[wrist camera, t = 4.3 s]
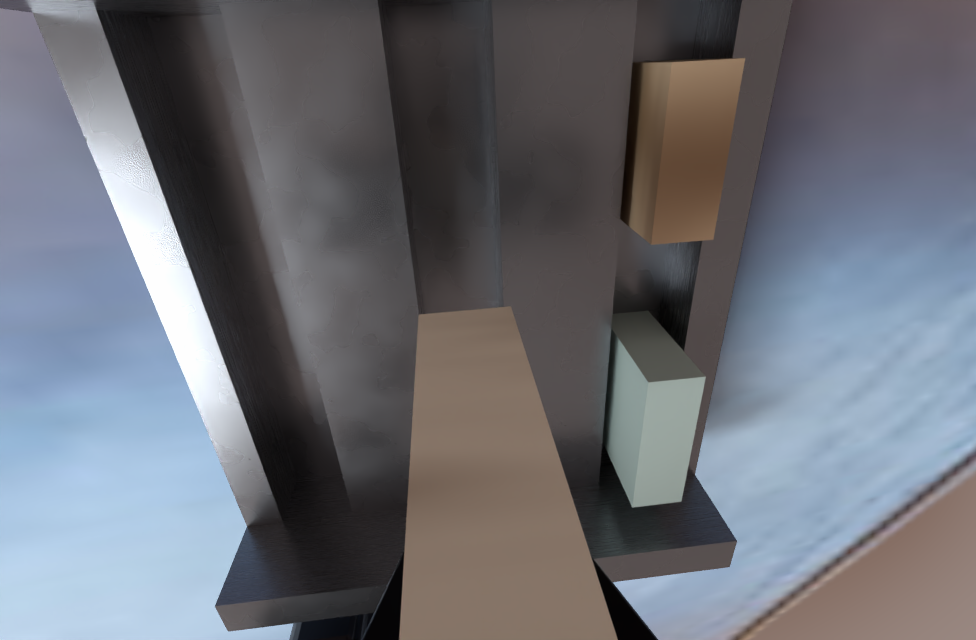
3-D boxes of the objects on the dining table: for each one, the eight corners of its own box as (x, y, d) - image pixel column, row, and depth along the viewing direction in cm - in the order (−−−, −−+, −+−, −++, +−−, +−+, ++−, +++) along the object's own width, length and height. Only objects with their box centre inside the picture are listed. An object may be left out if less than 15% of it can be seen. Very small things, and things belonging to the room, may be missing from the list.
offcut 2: (634, 420, 24) (681, 501, 19) (594, 424, 23) (632, 507, 19) (647, 310, 21) (705, 376, 16) (602, 314, 21) (648, 382, 16)
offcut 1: (660, 206, 19) (713, 239, 15) (609, 210, 19) (651, 244, 15) (677, 59, 16) (745, 57, 13) (619, 63, 16) (672, 62, 13)
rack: (659, 448, 26) (729, 566, 20) (279, 490, 25) (228, 631, 19) (738, -66, 16) (936, -152, 9) (92, -40, 14) (-165, -119, 8)
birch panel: (516, 500, 13) (639, 1140, 5) (444, 509, 13) (460, 1177, 5) (511, 306, 10) (747, 1043, 3) (418, 314, 10) (370, 1117, 2)
